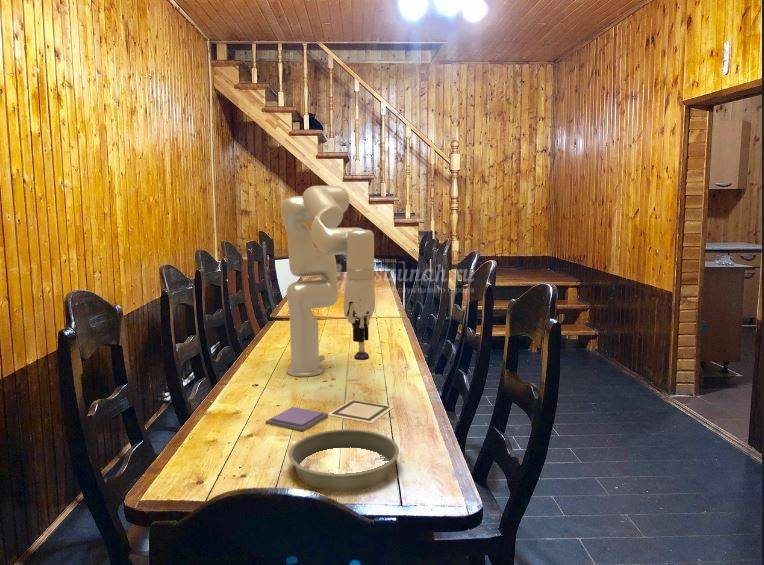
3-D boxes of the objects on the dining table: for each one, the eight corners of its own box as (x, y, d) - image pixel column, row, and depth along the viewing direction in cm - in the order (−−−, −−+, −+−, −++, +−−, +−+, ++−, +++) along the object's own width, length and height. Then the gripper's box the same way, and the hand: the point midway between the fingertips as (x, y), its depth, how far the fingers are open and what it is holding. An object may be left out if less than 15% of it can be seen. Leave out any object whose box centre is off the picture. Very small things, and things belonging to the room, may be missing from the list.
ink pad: (292, 409, 173) (292, 405, 173) (328, 416, 168) (327, 411, 168) (265, 423, 163) (265, 418, 162) (303, 431, 157) (303, 426, 157)
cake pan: (320, 440, 152) (320, 423, 152) (413, 455, 144) (413, 437, 143) (267, 483, 130) (266, 463, 129) (374, 504, 121) (374, 482, 120)
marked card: (352, 400, 181) (352, 398, 181) (394, 407, 175) (394, 406, 175) (326, 415, 169) (326, 413, 169) (371, 423, 163) (371, 422, 163)
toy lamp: (354, 360, 167) (354, 300, 165) (350, 356, 171) (351, 298, 169) (371, 359, 168) (371, 300, 166) (366, 356, 173) (367, 297, 171)
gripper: (362, 271, 175) (362, 333, 178) (333, 277, 161) (334, 345, 164) (385, 272, 172) (385, 336, 174) (358, 279, 158) (358, 348, 160)
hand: (360, 340), depth 169 cm, fingers closed on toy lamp
